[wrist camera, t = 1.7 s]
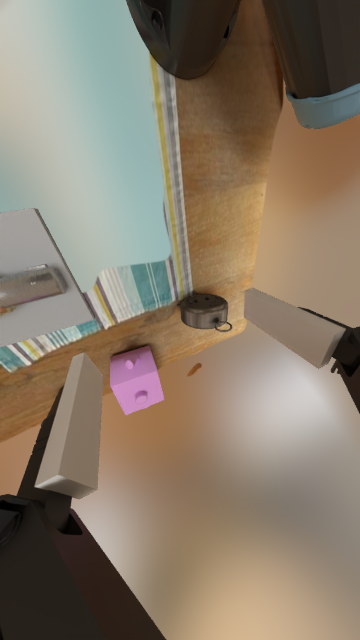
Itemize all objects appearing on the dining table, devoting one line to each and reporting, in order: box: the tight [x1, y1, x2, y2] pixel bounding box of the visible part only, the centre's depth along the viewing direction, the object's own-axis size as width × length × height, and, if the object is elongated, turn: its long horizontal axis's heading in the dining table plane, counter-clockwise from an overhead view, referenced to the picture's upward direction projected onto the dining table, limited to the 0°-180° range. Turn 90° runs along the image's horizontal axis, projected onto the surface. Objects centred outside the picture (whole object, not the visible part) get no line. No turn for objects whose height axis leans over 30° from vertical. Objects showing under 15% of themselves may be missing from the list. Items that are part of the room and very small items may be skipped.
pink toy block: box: [110, 346, 164, 415], centre depth 40 cm, size 20×10×12 cm, turn 5°
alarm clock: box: [178, 291, 232, 332], centre depth 36 cm, size 11×5×16 cm, turn 92°
